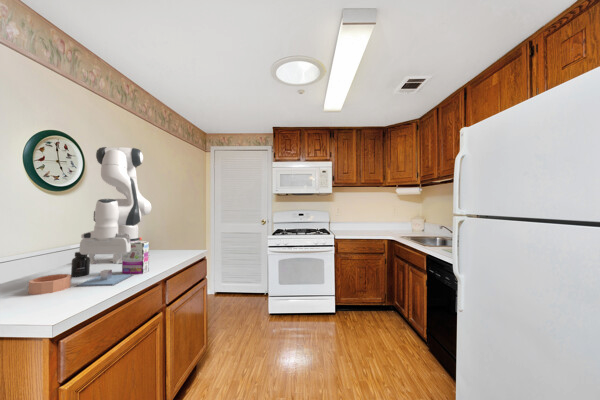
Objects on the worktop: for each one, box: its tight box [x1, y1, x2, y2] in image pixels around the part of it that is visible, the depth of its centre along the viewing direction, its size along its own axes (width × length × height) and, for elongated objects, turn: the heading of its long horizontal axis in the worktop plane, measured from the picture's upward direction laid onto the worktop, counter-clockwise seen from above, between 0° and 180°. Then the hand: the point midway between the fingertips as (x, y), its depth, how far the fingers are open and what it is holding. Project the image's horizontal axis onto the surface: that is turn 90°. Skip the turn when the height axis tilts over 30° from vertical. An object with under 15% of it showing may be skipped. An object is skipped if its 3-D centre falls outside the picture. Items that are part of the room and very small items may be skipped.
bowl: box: [27, 273, 72, 296], centre depth 101 cm, size 12×12×5 cm
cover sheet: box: [77, 269, 132, 287], centre depth 113 cm, size 14×14×5 cm
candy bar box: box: [121, 240, 150, 275], centre depth 127 cm, size 11×5×16 cm, turn 88°
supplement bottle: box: [70, 251, 91, 278], centre depth 121 cm, size 7×7×12 cm
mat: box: [73, 274, 135, 288], centre depth 113 cm, size 16×16×1 cm
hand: (105, 263), depth 113 cm, fingers open, 8 cm apart
